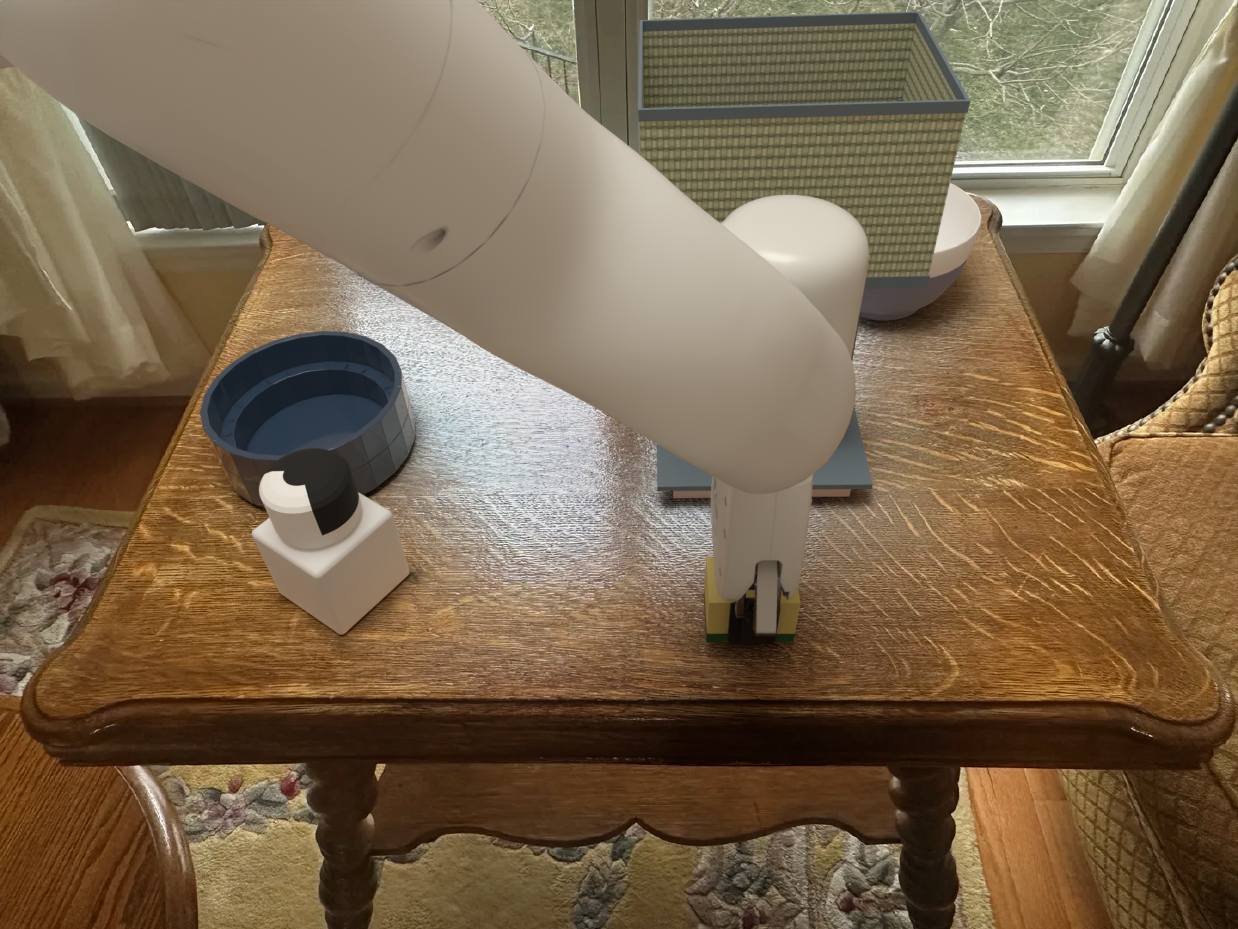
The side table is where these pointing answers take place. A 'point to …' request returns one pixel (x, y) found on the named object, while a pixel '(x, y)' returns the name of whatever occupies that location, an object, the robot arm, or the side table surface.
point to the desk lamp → (807, 145)
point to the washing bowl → (310, 408)
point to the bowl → (946, 264)
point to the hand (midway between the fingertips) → (748, 611)
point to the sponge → (720, 608)
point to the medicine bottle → (327, 539)
